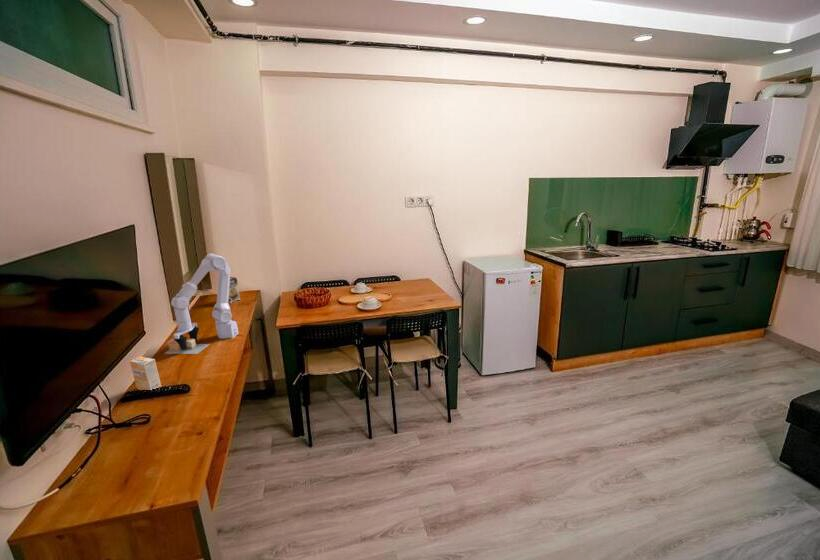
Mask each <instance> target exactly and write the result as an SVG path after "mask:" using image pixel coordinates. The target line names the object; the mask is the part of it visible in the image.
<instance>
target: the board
mask: <svg viewBox="0 0 820 560" xmlns="http://www.w3.org/2000/svg"><path fill="white" fill-rule="evenodd" d="M210 344H211V343H196V347H195V348H194V349H186V350H182V349H181V350H180V351H173V350H169V349H168V350H167V351H165V352H164V354H171V355H173V354H177V355H179V354H184V355H186V354H187V355H189V354H190V355H193V354H194V355H196V354H197V355H198V354H200V353H201V352H202V351H203V350H204V349H206V348H208V346H209V345H210Z"/></svg>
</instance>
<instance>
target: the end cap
mask: <svg viewBox="0 0 820 560" xmlns="http://www.w3.org/2000/svg"><path fill="white" fill-rule="evenodd" d="M166 344H167V348H168V350H173V351H180V350H181V349H180V346H179V344H176V341H175V340H174V337H172V338H171V339H170V340H168V341H167V342H166Z"/></svg>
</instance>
